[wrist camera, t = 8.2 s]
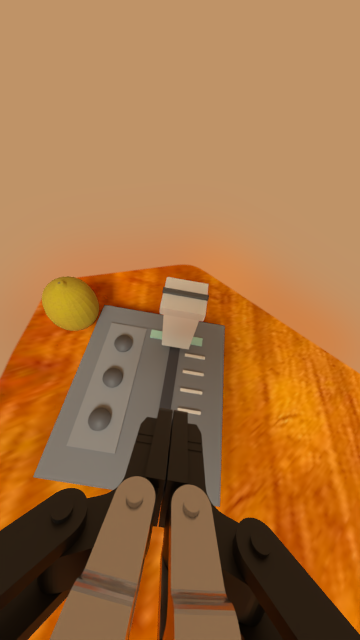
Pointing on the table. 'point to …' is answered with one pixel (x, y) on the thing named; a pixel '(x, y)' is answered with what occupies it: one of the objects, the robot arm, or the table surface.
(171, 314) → the fader knob
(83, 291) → the lemon
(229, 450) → the table surface
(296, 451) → the table surface
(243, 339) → the table surface
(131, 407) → the console
